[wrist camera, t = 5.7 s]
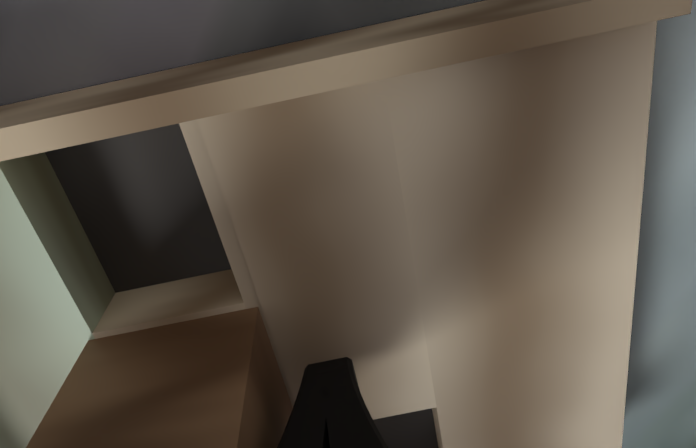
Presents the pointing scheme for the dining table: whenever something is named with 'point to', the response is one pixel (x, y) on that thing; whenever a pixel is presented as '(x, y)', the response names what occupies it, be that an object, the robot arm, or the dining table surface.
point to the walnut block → (173, 389)
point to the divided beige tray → (356, 216)
